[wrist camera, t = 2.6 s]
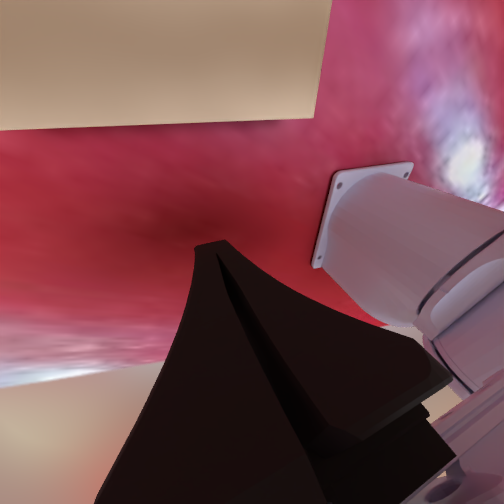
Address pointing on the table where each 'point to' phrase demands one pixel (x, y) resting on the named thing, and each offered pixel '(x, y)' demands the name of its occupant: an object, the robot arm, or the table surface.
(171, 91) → the T block
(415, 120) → the table surface
